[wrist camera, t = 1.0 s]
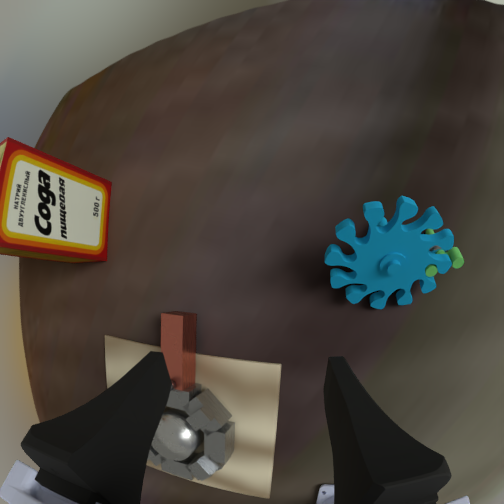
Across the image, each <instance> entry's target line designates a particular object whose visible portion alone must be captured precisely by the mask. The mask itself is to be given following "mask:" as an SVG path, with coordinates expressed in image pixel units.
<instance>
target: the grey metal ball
mask: <svg viewBox="0 0 504 504" xmlns="http://www.w3.org/2000/svg"><path fill="white" fill-rule="evenodd" d="M188 417H189V415H188V414H187V413H186V412H185V411H183V410H179V409H176V408H171V409H169V410H168V411H166V412H164V413H163V415H162V418H161V420H160V423H159V425H158V428H157V430H156V433H155V436H154V438H153V441H152V444H151V445H152V447H153V448H154V449H155V450H156V451H157V452H158V453H159V454H160V455H162V456H163V457H165V458H167V459H170V460H173V461H181V460H184V459H186V458H187V457H189V456H190V455H191V454H192V453H193V452H194V451H195V450H196V449H197V448H198V447H199V446H200V445H201V444H202V443H203V442H204V432H203V431H202V430H201V429H198V430H197V431H195V430H194V429H193V428H192V427H191V425H190V424H189V423H188V422H187V421H186V420H185V419H187V418H188Z"/></svg>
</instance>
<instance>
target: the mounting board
mask: <svg viewBox="0 0 504 504" xmlns="http://www.w3.org/2000/svg"><path fill="white" fill-rule="evenodd" d="M150 351H155V352H161V347H159V346H154V345H149V344H144V343H140V342H135V341H131V340H126V339H122V338H118V337H114V336H109V335H105V359H106V377H107V389H108V388H109V387H110V386H112V385H113V384H114V383H115V382H117V381H118V380H119V379H120V378H122V377H123V376H124V375H125V374H126V373H127V372H128V371H129V370H131V369H132V368H133V367H134V366H135V365H136V364H137V363H138V362H139V361H140V360H141V359H142V358H144V357H145V356H146V355H147V354H148V353H149V352H150ZM280 377H281V364H276V363H266V362H256V361H248V360H240V359H232V358H224V357H217V356H211V355H204V354H198V353H196V377H195V383H199V384H202V392H203V391H205V390H206V389H208V388H209V390H210V391H211V392H212V393H213V394H214V395H215V397H216V398H217V399H218V400H219V401H220V402H221V403H222V405H223V406H224V407H225V408H226V409H227V410H228V411H229V412H230V414H231V415H232V417H231V418H230V419H229V420H228V421H231V422H235V443H234V452H233V454H232V455H231V457H230V458H229V460H228V461H227V462H226V464H225V465H224V466H223V468H222V469H220V470H218V471H216V472H214V473H213V475H212V476H211V477H209V478H207V479H205V480H203V481H201V480H197V479H196V478H194V479H193V480H191V481H194V482H198V483H201V484H205V485H208V486H212V487H216V488H220V489H224V490H228V491H232V492H237V493H241V494H246V495H251V496H257V497H263V498H269V497H270V490H271V480H272V471H273V461H274V450H275V440H276V428H277V416H278V404H279V391H280ZM171 408H172V407H168V406H166V407H165V410H164V412H166V411H168V410H169V409H171ZM202 451H204V442H203V443H202V444H201V445H200V446H199V447H198V448H197V449H196V450H195V451H194V453H198V454H199V453H200V452H202ZM146 465H148V466H150V467H153V468H156V469H158V470H161V471H162V468H161V464H159V465H157V466H155V465H154V464H153V462H152V461H151V460H148V461H147V464H146ZM164 472H165V471H164ZM167 473H168V472H167ZM170 474H171V473H170ZM172 475H174V474H172ZM175 476H177V475H175ZM178 477H180V476H178ZM181 478H183V477H181ZM185 479H186V478H185ZM188 480H189V479H188Z"/></svg>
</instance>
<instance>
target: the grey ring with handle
mask: <svg viewBox="0 0 504 504" xmlns="http://www.w3.org/2000/svg"><path fill="white" fill-rule="evenodd" d="M196 321H197V314H196V313H187V312H178V311H174V312H167V313H161V352H163V355H164V358H165V362H166V365H167V369H168V372H169V375H170V379H171V382H172V385H171V390H170V394H169V398H168V402H167V405H166V406H168V407H172V408H176V409H179V410H183V411H185V412H186V413H187V414H188V415H189V417H188V418H187V419H185V420H186V421H187V422H188V423H189V424H190V425H191V427H192V428H193V429H194V430H195V431H197V430H198V429H201V430H202V431H203V432H204V451H202V452H200V453H199V454H198V453H194V452H193V453H192V454H191V455H190V456H189V457H187V458H186V459H184V460H181V461H173V460H170V459H167V458H165V457H163V456H162V455H160V454H159V453H158V452H157V451H156V450H155V449H154V448H153V447H152V445H151V447H150V451H149V455H148V459H147V461H148V460H151V461H152V462H153V464H154V465H155V466H157V465H159V464H161V468H162V471H165V472H168V473H171V474H174V475H177V476H180V477H183V478H186V479H189V480H193V479H194V478H196V479H197V480H201V481H203V480H205V479H207V478H209V477H211V476H212V475H213V473H214V472H216V471H218V470H220V469H222V468H223V466H224V465H225V464H226V462H227V461H228V460H229V458H230V457H231V455H232V454H233V452H234V443H235V422H231V421H228V420H229V419H230V418H231V417H232V415H231V414H230V412H229V411H228V410H227V409H226V408H225V407H224V406H223V405H222V403H221V402H220V401H219V400H218V399H217V398H216V397H215V395H214V394H213V393H212V392H211V391H210V390H209V388H208V389H206V390H205V391H203V392H202V384H199V383H195V377H196Z"/></svg>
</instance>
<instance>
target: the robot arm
mask: <svg viewBox="0 0 504 504" xmlns="http://www.w3.org/2000/svg"><path fill="white" fill-rule="evenodd" d="M171 385H172V382H171V379H170V375H169V372H168V369H167V365H166V362H165V358H164V355H163V352H155V351H150V352H149V353H148V354H147V355H146V356H145V357H144V358H142V359H141V360H140V361H139V362H138V363H137V364H136V365H135V366H134V367H133V368H132V369H131V370H129V371H128V372H127V373H126V374H125V375H124V376H123V377H122V378H120V379H119V380H118V381H117V382H115V383H114V384H113V385H112V386H110V387H109V388H108V389H107V390H106V391H104V392H103V393H101V394H100V395H99V396H97V397H96V398H94V399H92V400H91V401H89V402H88V403H86V404H84V405H82V406H80V407H79V408H77V409H75V410H73V411H71V412H69V413H67V414H64V415H62V416H59V417H57V418H54V419H52V420H49V421H45V422H42V423H39V424H35V425H32V426H31V428H30V430H29V431H28V433H27V434H26V436H25V438H24V439H23V441H22V442H21V447H22V449H23V450H24V452H25V453H26V454H27V455H28V456H29V457H30V458H31V459H32V460H33V461H34V462H35V463H36V464H37V465H38V466H39V467H40V470H39V472H37V471H36V470H35V469H33V468H31V467H30V466H28V465H26V464H24V463H23V462H21V461H19V460H16V462H15V463H14V465H13V467H12V469H11V471H10V472H9V474H8V476H7V478H6V479H5V481H4V483H3V485H2V487H1V489H0V497H1V498H2V499H4V500H5V501H6V502H8V503H9V504H140V499H141V491H142V485H143V478H144V473H145V468H146V464H147V459H148V455H149V451H150V447H151V444H152V441H153V438H154V436H155V433H156V430H157V428H158V425H159V423H160V420H161V418H162V415H163V413H164V410H165V407H166V405H167V402H168V398H169V394H170V390H171ZM324 404H325V413H326V418H327V424H328V429H329V435H330V440H331V446H332V453H333V465H334V485H328V484H324V485H321V486H320V489H319V493H318V498H317V502H316V504H436V502H437V501H438V495H437V492H438V491H439V490H440V489H441V488H443V487H444V486H445V485H446V484H447V483H448V481H449V480H450V478H451V472H450V469H449V466H448V464H447V462H446V460H445V458H444V456H442V455H440V454H439V453H437V452H435V451H433V450H431V449H429V448H428V447H426V446H424V445H423V444H421V443H420V442H418V441H417V440H415V439H414V438H413V437H411V436H410V435H409V434H408V433H406V432H405V431H404V430H402V429H401V428H400V427H399V426H398V425H397V424H396V423H394V422H393V421H392V420H391V419H390V418H389V417H388V416H387V415H386V414H385V413H384V412H383V411H382V409H381V408H380V407H379V406H378V405H377V404H376V403H375V401H374V400H373V399H372V398H371V397H370V395H369V394H368V393H367V391H366V390H365V389H364V387H363V386H362V384H361V383H360V382H359V380H358V379H357V377H356V376H355V374H354V373H353V371H352V370H351V368H350V366H349V365H348V363H347V361H346V359H345V358H344V357H343V356H341V357H329V359H328V365H327V372H326V378H325V384H324ZM322 491H325V492H324V493H323V492H322ZM445 504H470V502H469V498H468V496H464V497H461V498H459V499H456V500H453V501H451V502H448V503H445Z"/></svg>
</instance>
